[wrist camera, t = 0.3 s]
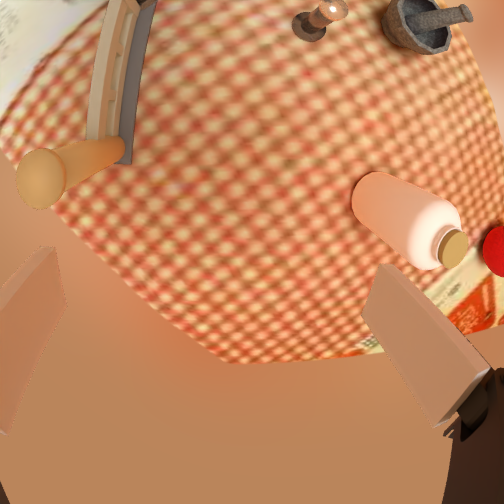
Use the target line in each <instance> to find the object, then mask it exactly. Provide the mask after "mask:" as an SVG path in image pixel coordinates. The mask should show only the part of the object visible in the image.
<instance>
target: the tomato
mask: <svg viewBox="0 0 504 504" xmlns="http://www.w3.org/2000/svg"><path fill="white" fill-rule="evenodd" d="M483 257H484V260H485V263H486V264H487V266H488V268H489V269H490V270H491V271H492V272H493V273H494V274H496V275H498V276H500V277H504V226H499V227H496V228H494V229H492V230H491V231H490V232H489V233H488V235H487V236H486V238H485V241H484V244H483Z"/></svg>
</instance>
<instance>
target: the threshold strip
mask: <svg viewBox="0 0 504 504" xmlns="http://www.w3.org/2000/svg"><path fill="white" fill-rule="evenodd" d="M156 3H157V0H156V1H155V2H154V3H153V4H152V5H151V6H149V7H148V8H146V9H144V10H141V11H140V12H139V16H138V18H137V21H136V25H135V29H134V34H133V38H132V43H131V48H130V53H129V58H128V64H127V70H126V76H125V82H124V89H123V96H122V104H121V113H120V123H119V134H118V136H120V137H121V138H122V139H123V141H124V143H125V153H124V155H123V157H122V158H121V159H120V160H119V161H117V162H115V163H113V164H132V149H133V137H134V127H135V117H136V109H137V101H138V93H139V86H140V80H141V73H142V68H143V62H144V56H145V51H146V46H147V41H148V37H149V32H150V28H151V23H152V19H153V15H154V11H155V7H156Z"/></svg>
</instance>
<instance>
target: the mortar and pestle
mask: <svg viewBox="0 0 504 504" xmlns="http://www.w3.org/2000/svg"><path fill="white" fill-rule="evenodd" d="M465 21H466V22H473V17H472V14H471V12H470V10H469V9H468V7H467V6H466V5H464V4H461V5H460V6H459V7H453V8H445V9H440V8H439V6H438V5H437V4H436V2H435V1H434V0H391V2H390V5H389V7H388V9H387V12H386V13H384V16H383V18H382V20H381V24H382V28H383V32H384V34H385V35H386V36H387V37H388V38H389V40H390V41H391V42H392V43H393V44H396V45H398V46H400V47H402V48H403V47H407V48H409V49H411V50H414V51H416V52H418V53H420V54H423V55H433V54H437V53H440V52H444V51H447V50H448V47H449V44H450V41H451V37H452V35H451V31H450V27H449V25H453V24H457V23H461V22H465Z"/></svg>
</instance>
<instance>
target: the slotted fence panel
mask: <svg viewBox="0 0 504 504" xmlns="http://www.w3.org/2000/svg"><path fill="white" fill-rule="evenodd" d="M139 12H140V6H139V4H138V3H137V1H136V0H109V4H108V7H107V10H106V14H105V18H104V22H103V26H102V30H101V34H100V38H99V43H98V48H97V53H96V58H95V63H94V69H93V75H92V82H91V89H90V97H89V105H88V115H87V127H86V140H84V141H80V142H76V143H73V144H69V145H65V146H62V147H58V148H55V149H51V150H50V149H47V148H41V149H37V150H34V151H31V152H29V153H28V154H26V155H25V156H24V157H23V158H22V160H21V161H20V163H19V165H18V168H17V173H16V184H17V189H18V192H19V195H20V196H21V198H22V200H23V201H24V202H25V203H26V204H27V205H28V206H30V207H32V208H34V209H45V208H48V207H50V206H51V205H53V204H54V203H55V202H57V201H58V200H59V199H60V197H61V196H62V194H63V193H64V192H65V191H67V190H68V189H70V188H72V187H73V186H75V185H76V184H78V183H80V182H81V181H83V180H85V179H87V178H88V177H90V176H92V175H93V174H95V173H97V172H99V171H101V170H102V169H104V168H106V167H108V166H110V165H112V164H113V163H115V162H117V161H119V160H120V159H121V158H122V157H123V155H124V153H125V143H124V141H123V139H122V138H121V137H120V136H118V134H119V123H120V113H121V104H122V96H123V89H124V82H125V76H126V70H127V64H128V58H129V53H130V48H131V43H132V38H133V34H134V29H135V25H136V21H137V18H138V16H139Z"/></svg>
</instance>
